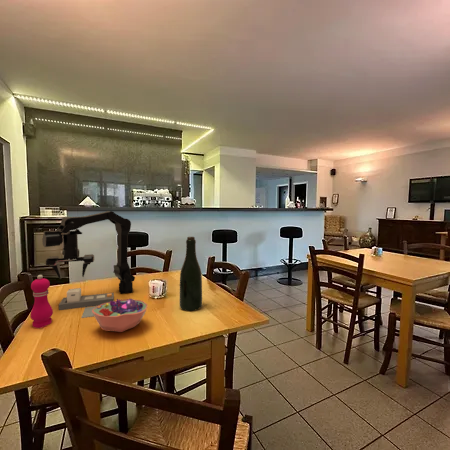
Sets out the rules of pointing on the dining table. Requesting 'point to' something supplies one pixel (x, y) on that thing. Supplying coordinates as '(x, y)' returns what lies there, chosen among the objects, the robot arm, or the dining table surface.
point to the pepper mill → (41, 303)
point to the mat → (88, 312)
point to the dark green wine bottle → (190, 279)
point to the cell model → (120, 314)
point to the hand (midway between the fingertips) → (71, 277)
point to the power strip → (87, 301)
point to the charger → (74, 295)
